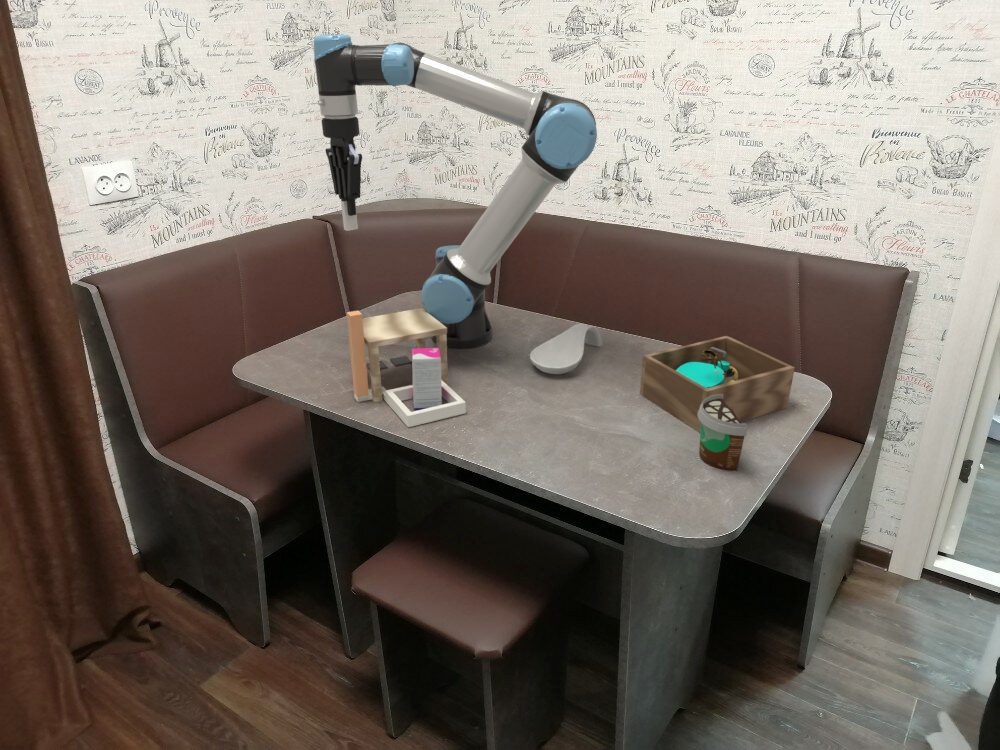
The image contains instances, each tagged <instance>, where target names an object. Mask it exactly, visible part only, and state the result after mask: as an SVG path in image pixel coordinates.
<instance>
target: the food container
mask: <svg viewBox="0 0 1000 750" xmlns="http://www.w3.org/2000/svg"><path fill="white" fill-rule="evenodd" d="M697 415H698V419H699V420H700V421H701V427H700V433H699V452H698V453H699V454H698V455H699V459H701V461H702V462H703V463H705V464H706V465H708V466H710V467H712V468H714V469H717V470H722V471H726V472H727V471H728V472H737V471H738V467H739V464H740V460H741V459H740V458H741V454H742V449H743V444H744V441H745V437H747V436H748V435H747V434H748V431H747V430H748V425H747V424H748V423H742V421H741V422H740V421H739V419H738V418H737V416H736V414H735V413H734V411H733V410H732V409H731V408H730V407H729V406H728V405H727V404H726V403H725V402H724V400H723V394H718V395H713V396H710V397H708V398H706V399H705V400H704V401H703V403H702V404H701V405H700V408H699V411H698V414H697Z"/></svg>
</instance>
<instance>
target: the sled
mask: <svg viewBox="0 0 1000 750" xmlns="http://www.w3.org/2000/svg"><path fill="white" fill-rule="evenodd" d="M362 318H363V314H362V313H361V312H360V311H359V310H352V311H348V312H346V321H347V331H348V333H347V334H348V344H349V353H350V355H349V356H350V362H351V363H350V364H351V374H352V375H351V376H352V385H353V386H352V387H353V397H354V399H355V401H357V403H361V402H365V401H370V400H372V388H369V384H368V383H369V382H368V368H367V367H366V364H367V359H366V344H365V343H364V332H363V319H362ZM381 390H382V400H384V401H385V402H386V404H387V405H388V406H389V407H390V408H391V409H392V411H393V412H394V413H395V414H396V416H398V418H399V419H401V421H402V422H403V424H405V425H406V427H407V428H411V427H415V426H419V425H423V424H427V423H431V422H435V421H439V420H444V419H447V418H453V417H456V416H461V415H465V414H466V413H467V411H466V410H467V406H466V405H467V404H466V401H465V400H464V399H463V398H462V397H461V396H460V395H458V394H457V393H456V392H455V391H454V390H453V389H452V388H451V387H450V386H449V384H448V385H447V384H446V383H444V382H443V381H442V380H441V391H442V399H444V400H445V401H446V402H447V403H444V404H443V403H442V405H439V406H435V407H430V408H426V409H422V410H418V411H414V410H413V411H411V410H410V409H409V408H408V407H407V406H406V405H405V403H403V402H402V401H407V400H411V399H412V400H413V384H409V385H405V386H401V387H396V388H393V389H392V388H391V389H386V388H385V387H384V386H383V385H381Z"/></svg>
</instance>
